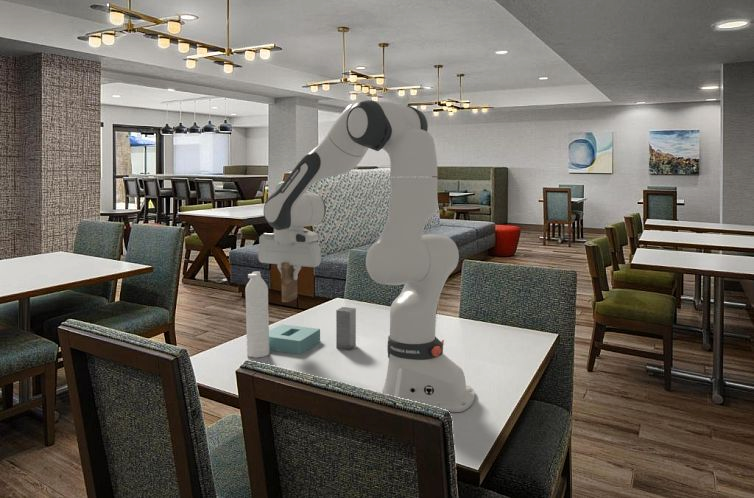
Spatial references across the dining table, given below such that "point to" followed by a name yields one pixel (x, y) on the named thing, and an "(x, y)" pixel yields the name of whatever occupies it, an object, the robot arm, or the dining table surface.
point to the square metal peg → (346, 328)
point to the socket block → (293, 338)
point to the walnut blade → (288, 283)
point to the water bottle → (257, 316)
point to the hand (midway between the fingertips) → (289, 279)
